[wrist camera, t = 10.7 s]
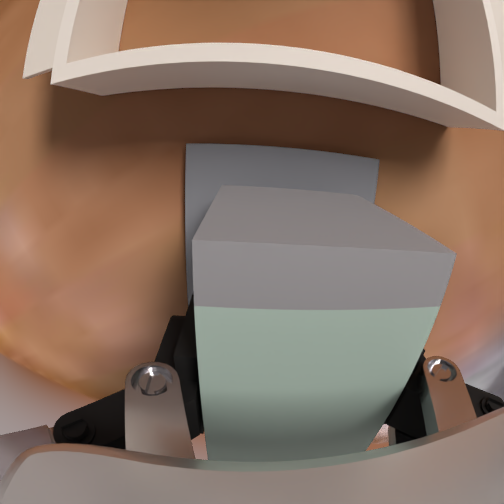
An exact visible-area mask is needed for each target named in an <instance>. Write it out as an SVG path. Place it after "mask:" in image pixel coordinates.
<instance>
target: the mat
mask: <svg viewBox="0 0 504 504" xmlns="http://www.w3.org/2000/svg"><path fill="white" fill-rule="evenodd" d="M379 161H380V160H379V159H373V158H367V157H361V156H354V155H347V154H340V153H333V152H325V151H316V150H307V149H297V148H286V147H273V146H258V145H239V144H186V172H185V236H186V271H187V294H188V306H189V303H190V300H191V297H192V294H193V259H192V239H193V237H194V235H195V234H196V232H197V230H198V228H199V226H200V224H201V222H202V220H203V219H204V217H205V215H206V213H207V211H208V209H209V207H210V206H211V204H212V202H213V200H214V198H215V197H216V195H217V193H218V191H219V189H220V188H221V186H222V185H233V186H254V187H272V188H286V189H300V190H312V191H323V192H333V193H343V194H353V195H358V196H360V197H362V198H364V199H366V200H367V201H369V202H371V203H373V204H374V201H375V194H376V187H377V179H378V170H379Z"/></svg>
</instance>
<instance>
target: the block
mask: <svg viewBox="0 0 504 504" xmlns="http://www.w3.org/2000/svg"><path fill="white" fill-rule="evenodd" d="M455 258H456V253H455V252H453V251H452V250H450V249H449V248H447V247H446V246H444V245H443V244H441V243H439V242H438V241H436V240H435V239H433V238H431V237H430V236H428V235H427V234H425V233H423V232H422V231H420V230H418V229H417V228H415V227H413V226H412V225H410V224H408V223H407V222H405V221H403V220H402V219H400V218H398V217H396V216H395V215H393V214H391V213H389V212H388V211H386V210H384V209H382V208H380V207H379V206H377V205H375V204H373V203H371V202H369V201H367V200H366V199H364V198H362V197H360V196H358V195H353V194H343V193H333V192H323V191H312V190H300V189H286V188H272V187H254V186H233V185H222V186H221V188H220V189H219V191H218V193H217V195H216V197H215V198H214V200H213V202H212V204H211V206H210V207H209V209H208V211H207V213H206V215H205V217H204V219H203V220H202V222H201V224H200V226H199V228H198V230H197V232H196V234H195V235H194V237H193V239H192V259H193V291H194V313H195V331H196V347H197V360H198V373H199V384H200V395H201V405H202V414H203V423H204V432H205V440H206V448H207V454H208V460H213V461H233V462H272V461H292V460H305V459H316V458H325V457H333V456H340V455H347V454H353V453H359V452H364V451H366V449H367V448H368V447H369V445H370V444H371V442H372V441H373V439H374V438H375V436H376V435H377V433H378V431H379V430H380V428H381V427H382V425H383V424H384V422H385V420H386V419H387V417H388V415H389V414H390V412H391V410H392V409H393V407H394V405H395V403H396V402H397V400H398V398H399V396H400V394H401V393H402V391H403V389H404V387H405V385H406V383H407V381H408V379H409V377H410V375H411V373H412V371H413V369H414V367H415V365H416V363H417V361H418V359H419V357H420V355H421V352H422V350H423V348H424V346H425V343H426V341H427V339H428V336H429V334H430V331H431V329H432V327H433V324H434V322H435V319H436V316H437V314H438V311H439V308H440V306H441V303H442V300H443V297H444V294H445V291H446V288H447V285H448V282H449V279H450V275H451V272H452V269H453V265H454V262H455Z"/></svg>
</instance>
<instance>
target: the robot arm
mask: <svg viewBox="0 0 504 504" xmlns="http://www.w3.org/2000/svg"><path fill="white" fill-rule="evenodd" d="M424 352H425V350H424V348H423V350H422V352H421V355H420V357H419V359H418V361H417V363H416V365H415V367H414V369H413V371H412V373H411V375H410V377H409V379H408V381H407V383H406V385H405V387H404V389H403V391H402V393H401V394H400V396H399V398H398V400H397V402H396V403H395V405H394V407H393V409H392V410H391V412H390V414H389V415H388V417H387V419H386V420H385V422H384V424H387V425H389V427H388V437H389V446H388V447H384V448H379V449H375V450H369V451H364V452H359V453H353V454H347V455H340V456H333V457H325V458H316V459H305V460H292V461H272V462H233V461H213V460H200V459H195V455H194V451H193V446H192V442H191V440H192V439H193V438H195V437H197V436H198V435H200V433H202V434H203V432H204V423H203V414H202V405H201V395H200V384H199V373H198V360H197V347H196V331H195V313H194V291H193V294H192V297H191V300H190V303H189V306H188V309H187V313H186V316H174V315H173V316H172V317H171V318H170V321H169V324H168V326H167V329H166V332H165V334H164V337H163V340H162V343H161V345H160V348H159V351H158V354H157V356H156V359H155V362H147V363H142V364H140V365H137V366H135V367H134V368H133V369H131V370H130V372H129V373H128V374H127V376H126V380H125V389H124V390H121V391H119V392H117V393H114V394H112V395H110V396H107V397H105V398H103V399H100V400H98V401H96V402H93V403H91V404H88V405H86V406H84V407H81V408H79V409H76V410H74V411H71V412H68V413H66V414H65V415H63V416H61V417H60V418H59V419H58V420H57V421H56V423H55V425H54V427H52V428H48V426H47V425H44V426H40V427H36V428H31V429H27V430H23V431H18V432H14V433H9V434H4V435H0V504H504V402H503V400H502V399H501V398H499V397H497V396H495V395H493V394H490V393H488V392H485V391H483V390H480V389H478V388H475V387H473V386H470V385H468V384H465V383H464V380H463V377H462V375H461V372H460V370H459V368H458V367H457V365H456V364H455V363H454V362H452V361H451V360H449V359H447V358H444V357H440V356H432V357H429V358H427V359H426V358H425V357H424V355H423V354H424Z"/></svg>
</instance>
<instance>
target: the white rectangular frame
mask: <svg viewBox="0 0 504 504" xmlns="http://www.w3.org/2000/svg"><path fill="white" fill-rule="evenodd" d="M127 1H128V0H40V3H39V6H38V9H37V13H36V16H35V20H34V23H33V27H32V31H31V36H30V40H29V45H28V49H27V55H26V60H25V66H24V72H23V78H24V79H29V78H32V77H35V76H38V75H41V74H44V73H47V72H50V71H52V76H51V84H52V85H57V86H62V87H66V88H71V89H75V90H80V91H84V92H88V93H92V94H96V95H100V96H105V95H112V94H119V93H127V92H136V91H146V90H158V89H173V88H207V87H216V88H250V89H266V90H278V91H288V92H297V93H306V94H313V95H320V96H327V97H333V98H339V99H344V100H350V101H355V102H360V103H364V104H369V105H373V106H378V107H382V108H386V109H390V110H394V111H398V112H402V113H405V114H409V115H412V116H416V117H419V118H422V119H425V120H429V121H432V122H435V123H438V124H441V125H444V126H447V127H458V128H477V129H491V130H502V131H504V0H433V5H434V11H435V18H436V25H437V34H438V44H439V57H440V80H441V85H439V84H436V83H434V82H431V81H429V80H426V79H423V78H421V77H418V76H415V75H412V74H409V73H406V72H403V71H400V70H397V69H394V68H390V67H387V66H384V65H380V64H376V63H373V62H369V61H365V60H361V59H357V58H352V57H348V56H343V55H338V54H333V53H328V52H322V51H316V50H310V49H303V48H295V47H287V46H277V45H265V44H249V43H192V44H176V45H164V46H154V47H146V48H139V49H132V50H126V51H120V52H118V51H119V44H120V38H121V32H122V26H123V20H124V15H125V10H126V6H127Z"/></svg>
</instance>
